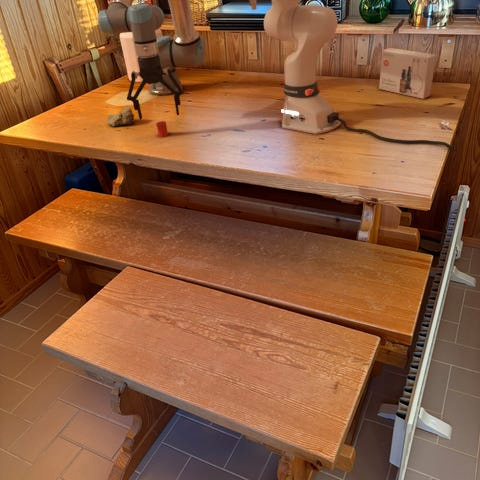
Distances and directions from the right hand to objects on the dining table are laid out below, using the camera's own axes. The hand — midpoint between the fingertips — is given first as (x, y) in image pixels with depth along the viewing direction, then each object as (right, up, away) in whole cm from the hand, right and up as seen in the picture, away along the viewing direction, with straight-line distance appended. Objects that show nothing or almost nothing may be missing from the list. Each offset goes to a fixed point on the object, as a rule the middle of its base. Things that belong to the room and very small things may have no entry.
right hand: (253, 7), depth 187 cm
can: (-34, -55, -14) cm, 66 cm away
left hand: (-35, -49, -18) cm, 63 cm away
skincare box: (+62, -34, +2) cm, 70 cm away
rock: (-53, -47, 0) cm, 71 cm away
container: (-53, -8, +56) cm, 78 cm away
